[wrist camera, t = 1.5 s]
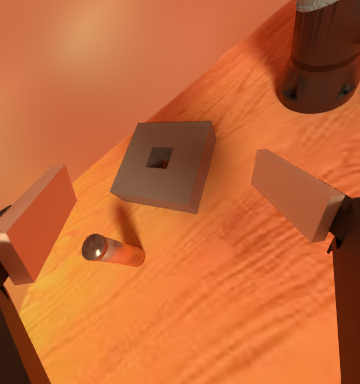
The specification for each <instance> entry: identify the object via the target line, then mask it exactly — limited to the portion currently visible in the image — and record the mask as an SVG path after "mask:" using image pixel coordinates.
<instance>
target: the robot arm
mask: <svg viewBox="0 0 360 384" xmlns="http://www.w3.org/2000/svg"><path fill="white" fill-rule="evenodd" d="M296 9H297V11H296V19H295V27H294V35H293V42H292V50H291V57H290V60H289V62H288V64H287V66H286V68H285V70H284V72H283V74H282V76H281V78H280V81H279V87H278V96H279V99H280V101H281V102H282V104H283V105H284V106H286V107H287V108H289V109H291V110H293V111H296V112H300V113H308V114H313V113H322V112H327V111H330V110H333V109H335V108H337V107H339V106H341V105H343V104H344V103H346V102H347V101H348V100H349V99H350V98H351V97H352V96H353V94H354V92H355V90H356V88H357V86H358V84H359V81H360V0H297V1H296ZM251 184H252V185H253V186H254V187H255V188H256V189H257V190H258V191H259V192H260V193H261V194H262V195H263V196H264V197H265V198H266V199H267V200H268V201H269V202H270V203H271V204H272V205H273V206H274V207H275V208H276V209H277V210H279V211H280V212H281V213H282V214H283V215H284V216H285V217H286V218H287V219H288V220H289V221H290V222H291V223H292V224H293V225H294V226H295V227H296V228H297V229H298V230H299V231H300V232H301V233H302V234H303V235H304V236H305V237H306V238H307V239H308V240H309V241H310V242H311V243H312V242H319V241H325V239H326V236H327V234H328V232H331V233H332V234H333V235H334V238H333V240H332V242H331V244H330V246H329V248H328V251H327V253H328V254H329V253H330V251H333V266H334V281H335V296H336V310H337V325H338V340H339V355H340V369H341V384H360V197H359V198H353V199H352V198H350V197H349V196H347V195H345V194H343V193H342V192H340V191H338V190H337V189H335V188H332V187H331V186H330V185H327V184H326V183H325V182H323V181H321V180H319V179H317V178H315V177H314V176H312V175H310V174H308V173H307V172H305V171H303V170H302V169H300V168H298V167H296V166H295V165H293V164H291V163H290V162H288V161H286V160H285V159H283V158H281V157H279V156H278V155H276V154H274V153H273V152H271V151H269V150H267V149H264V150H257V154H256V160H255V165H254V171H253V176H252V182H251ZM76 201H77V199H76V196H75V193H74V190H73V187H72V184H71V180H70V177H69V174H68V171H67V168H66V165H65V164H58V165H52V166H51V167H50V168H49V169H48V170H47V171H46V172H45V173H44V174H43V175H42V176H41V177H40V178H39V179H38V180H37V181H36V182H35V183H34V184H33V185H32V186H31V187H30V188H29V189H28V190H27V191H26V192H25V193H24V194H23V195H22V196H21V197H20V198H19V199H18V200H17V201H16V202H15V203H14V204H13V205H10V206H8V207H6V208H5V209H3V210H1V211H0V384H51V383H50V380H49V378H48V376H47V374H46V372H45V370H44V368H43V366H42V363H41V361H40V359H39V357H38V355H37V353H36V351H35V349H34V347H33V344H32V342H31V340H30V338H29V336H28V334H27V332H26V330H25V327H24V325H23V323H22V321H21V319H20V317H19V315H18V313H17V310H16V309H15V306H14V304H13V302H12V300H11V298H10V296H9V293H8V291H7V289H6V288H5V287H4V285H3V284H4V282H5V281H6V279H7V278H8V276H9V277H10V279H11V280H12V282H13V283H14V285H19V284H26V283H34V282H35V280H36V279H37V277H38V275H39V273H40V271H41V269H42V267H43V265H44V263H45V261H46V259H47V257H48V255H49V253H50V251H51V250H52V248H53V246H54V244H55V242H56V240H57V238H58V236H59V234H60V232H61V230H62V228H63V226H64V224H65V223H66V221H67V219H68V217H69V215H70V213H71V211H72V209H73V207H74V205H75V203H76Z"/></svg>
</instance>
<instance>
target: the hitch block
mask: <svg viewBox="0 0 360 384" xmlns="http://www.w3.org/2000/svg"><path fill="white" fill-rule="evenodd" d="M215 141H216V135H215V132H214V128H213V125H212V122H211V121H197V122H158V123H138V125H137V127H136V130H135V132H134V134H133V137H132V139H131V142H130V144H129V146H128V149H127V151H126V154H125V156H124V159H123V161H122V163H121V166H120V168H119V171H118V173H117V175H116V178H115V180H114V183H113V185H112V188H111V190H110V192H111V193H112V194H114V195H115V196H117V197H119V198H120V199H122V200H123V201H127V202H132V203H138V204H143V205H149V206H155V207H160V208H166V209H172V210H177V211H183V212H188V213H194V214H197V212H198V208H199V204H200V200H201V196H202V192H203V188H204V184H205V180H206V176H207V173H208V169H209V165H210V161H211V157H212V153H213V149H214V145H215ZM163 160H169V163H168V166H167V169H161V165H162V162H163Z"/></svg>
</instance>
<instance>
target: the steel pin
mask: <svg viewBox="0 0 360 384" xmlns="http://www.w3.org/2000/svg"><path fill="white" fill-rule="evenodd" d="M82 255H83V257H84V258H85V259H86V260H91V261H102V262H108V263H115V264H122V265H128V266H135V267H137V266H140V265H142V263H143V262H144V260H145V252H144V250H143V249H142V248H139V247H136V246H132V245H129V244H126V243H123V242H119V241H116V240H113V239H110V238H106V237H104V236H102V235H99V234H92V235H90V236H89V237H87V239H86V240H85V241H84V243H83V246H82Z"/></svg>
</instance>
